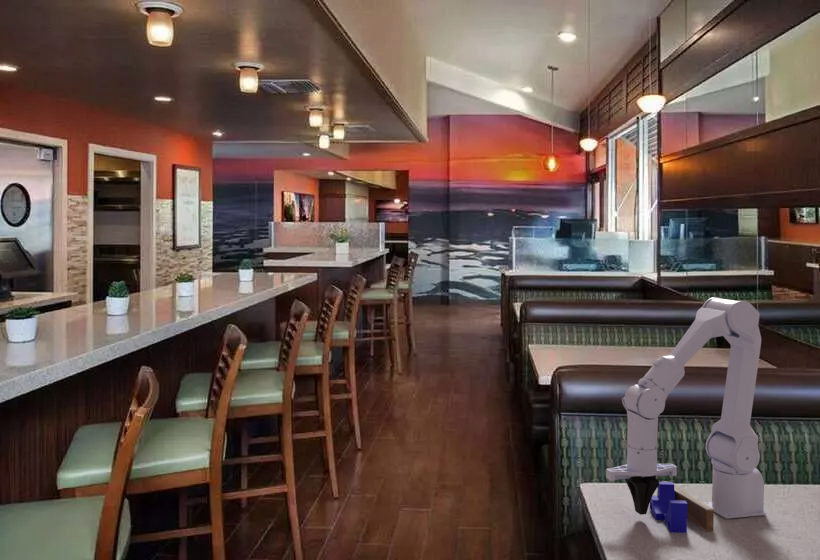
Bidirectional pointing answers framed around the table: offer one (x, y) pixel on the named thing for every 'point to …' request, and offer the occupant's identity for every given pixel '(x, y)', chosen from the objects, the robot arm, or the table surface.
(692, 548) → the table surface
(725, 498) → the robot arm
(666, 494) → the cable clip
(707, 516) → the bar
